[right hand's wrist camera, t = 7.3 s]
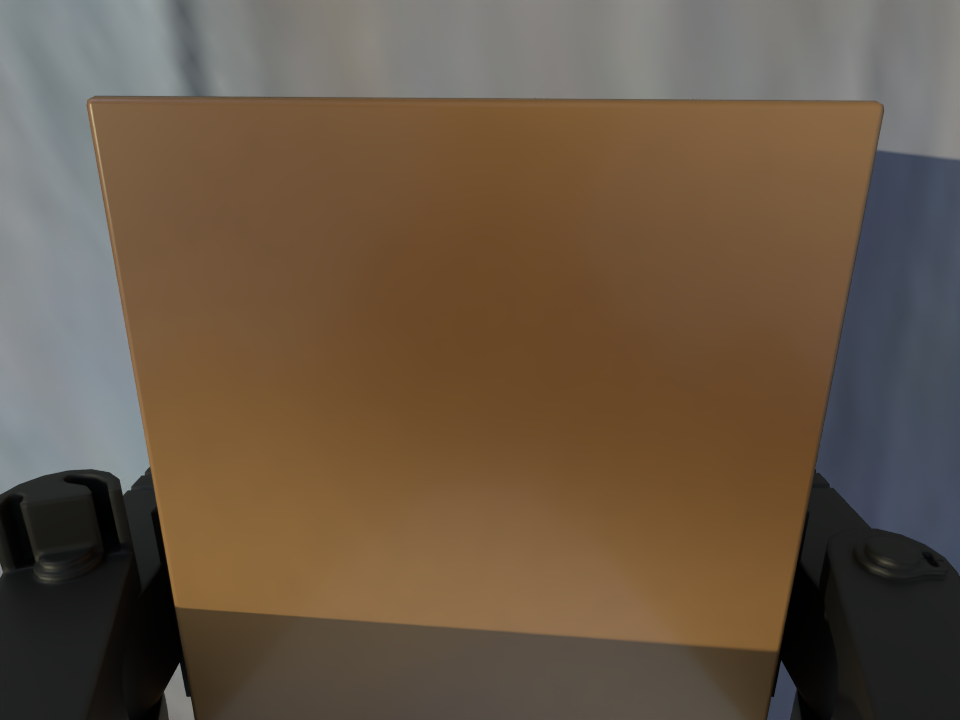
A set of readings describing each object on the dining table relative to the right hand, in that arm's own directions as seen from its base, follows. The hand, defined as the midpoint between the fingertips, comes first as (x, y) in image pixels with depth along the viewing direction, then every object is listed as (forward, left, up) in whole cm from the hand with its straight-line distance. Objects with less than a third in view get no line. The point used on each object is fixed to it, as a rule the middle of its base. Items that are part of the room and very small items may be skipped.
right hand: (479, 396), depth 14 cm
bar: (+13, +22, -1) cm, 25 cm away
